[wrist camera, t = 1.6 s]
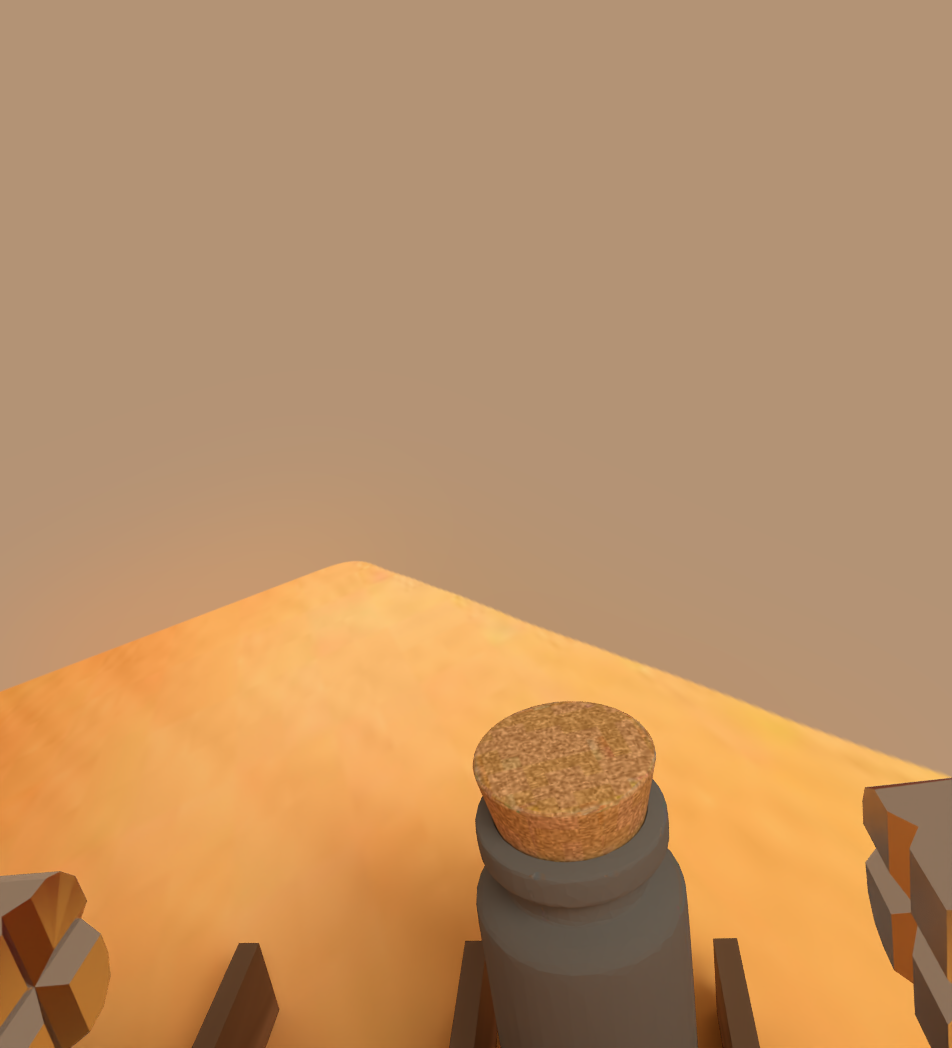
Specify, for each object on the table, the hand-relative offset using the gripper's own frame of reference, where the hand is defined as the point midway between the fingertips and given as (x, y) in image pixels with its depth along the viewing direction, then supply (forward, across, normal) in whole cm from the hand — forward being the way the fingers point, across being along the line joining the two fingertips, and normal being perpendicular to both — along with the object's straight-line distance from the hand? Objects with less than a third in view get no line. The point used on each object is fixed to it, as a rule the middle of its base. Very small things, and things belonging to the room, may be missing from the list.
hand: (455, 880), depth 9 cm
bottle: (+12, 0, +22) cm, 25 cm away
